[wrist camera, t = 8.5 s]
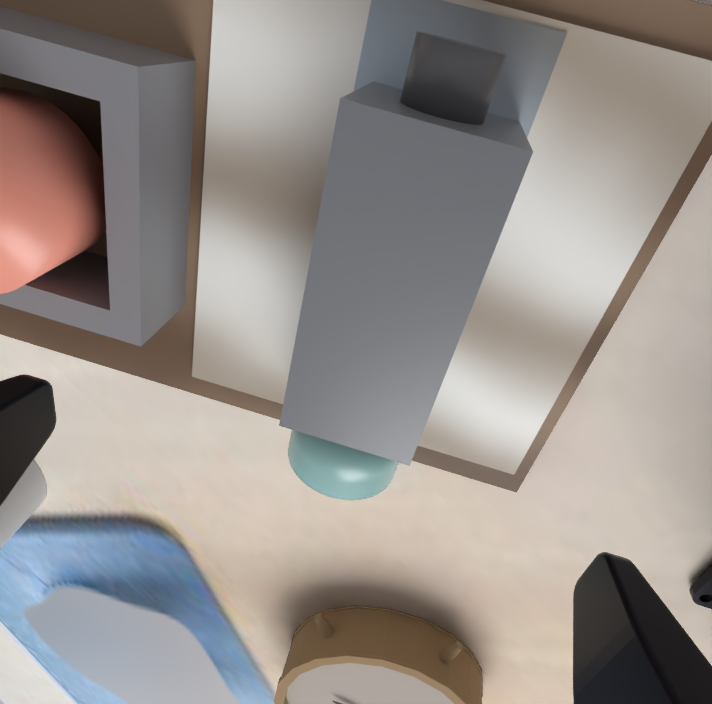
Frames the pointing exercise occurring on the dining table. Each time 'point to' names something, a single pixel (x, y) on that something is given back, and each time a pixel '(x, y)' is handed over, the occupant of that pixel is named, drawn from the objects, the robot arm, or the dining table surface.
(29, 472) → the lumpy-topped squat cylinder
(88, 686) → the dining table surface
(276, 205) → the picture frame
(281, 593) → the dining table surface
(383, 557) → the dining table surface
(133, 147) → the button housing
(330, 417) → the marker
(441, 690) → the alarm clock
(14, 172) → the button
